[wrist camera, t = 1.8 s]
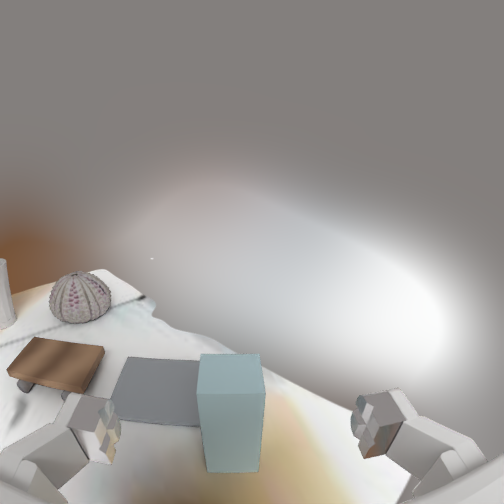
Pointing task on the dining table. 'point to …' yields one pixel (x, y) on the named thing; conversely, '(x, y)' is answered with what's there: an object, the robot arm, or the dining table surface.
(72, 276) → the sea urchin shell
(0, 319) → the cup
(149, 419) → the grey tile
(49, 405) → the dining table surface
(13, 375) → the walnut slab on rollers
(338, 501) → the dining table surface
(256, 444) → the teal-grey block
